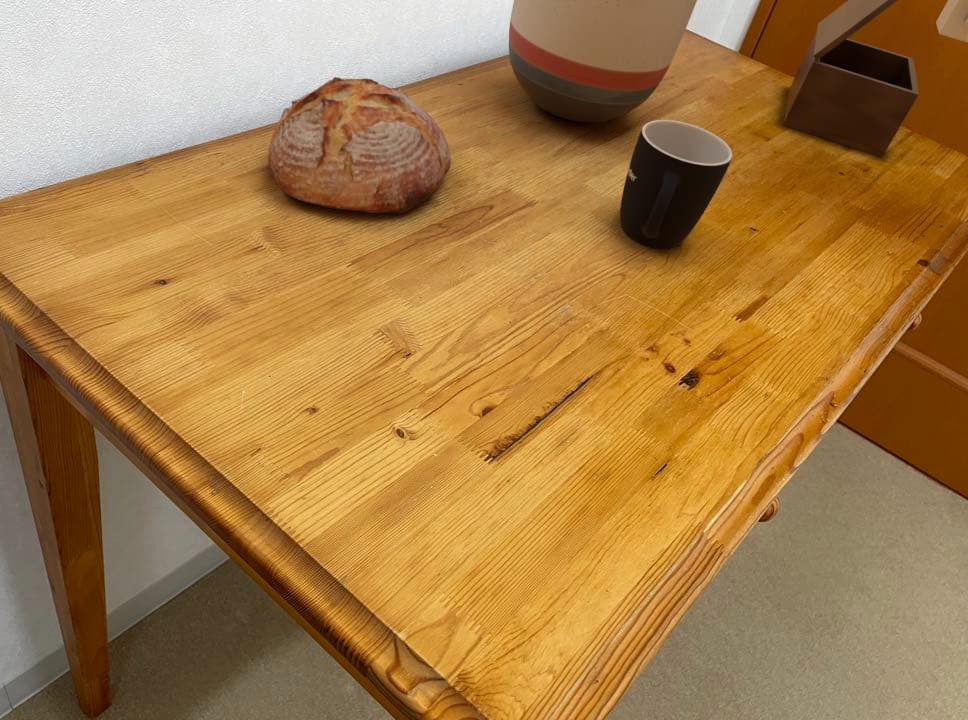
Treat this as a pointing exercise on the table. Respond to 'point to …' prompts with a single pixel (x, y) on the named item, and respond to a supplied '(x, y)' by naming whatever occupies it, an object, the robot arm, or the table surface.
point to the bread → (358, 148)
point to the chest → (852, 95)
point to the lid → (846, 22)
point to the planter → (594, 52)
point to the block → (954, 20)
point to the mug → (671, 181)
